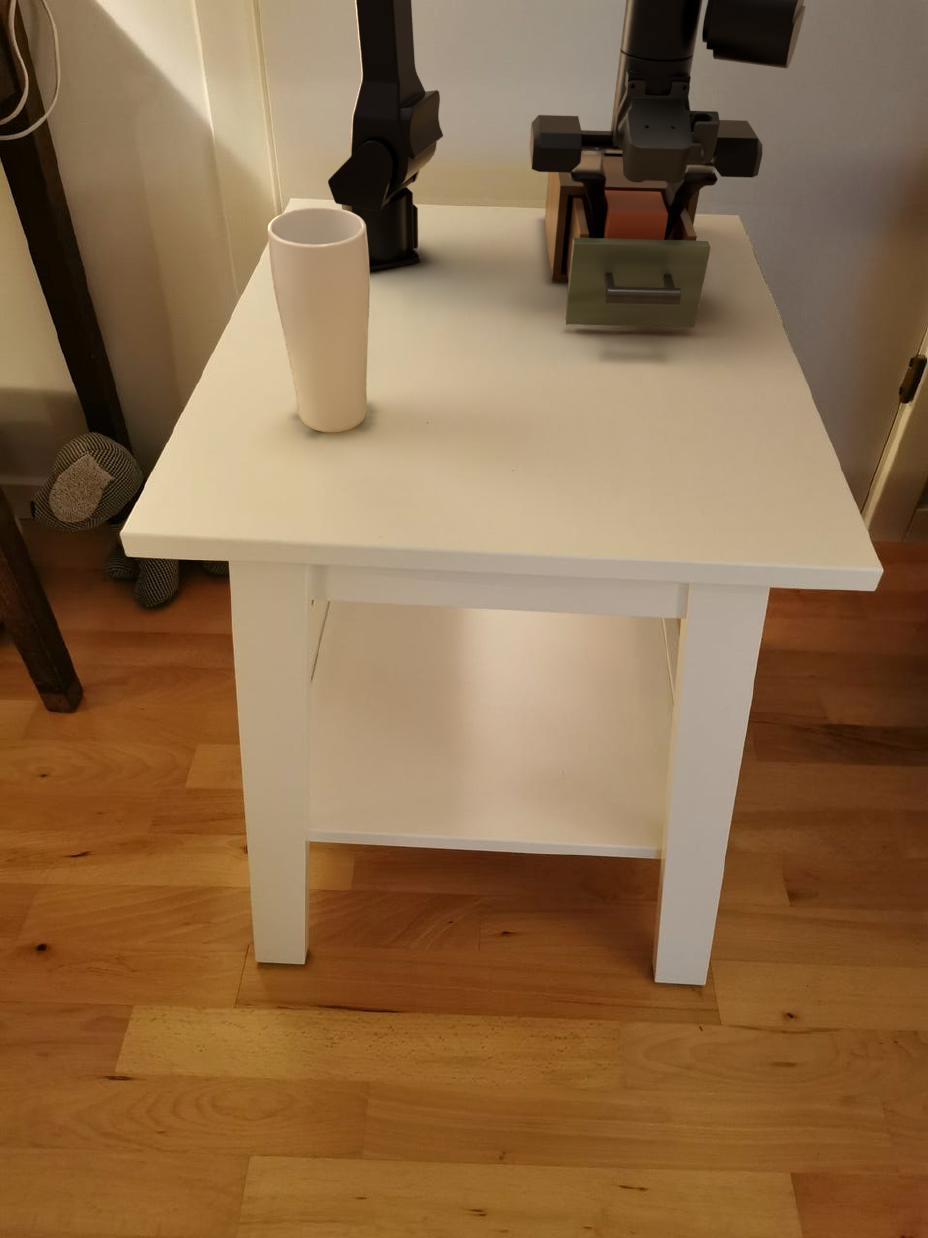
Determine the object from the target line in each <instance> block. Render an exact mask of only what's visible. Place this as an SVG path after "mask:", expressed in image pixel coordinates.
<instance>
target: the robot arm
mask: <svg viewBox="0 0 928 1238" xmlns="http://www.w3.org/2000/svg"><path fill="white" fill-rule="evenodd" d="M354 3H355V13H356V14H355V15H356V23H357V24H356V26H357V37H358V45H359V59H360V68H361V69H360V70H361V79H360V84H359V88H358V92H357V96H356V100H355V105H354V108H353V111H352V115H351V116H352V117H351V130H350V131H351V132H350V133H351V134H350V136H351V137H350V157H348V159H347V160H345V162H344V163H343V164H342V165H341V166H340V167H339V168H338V169H337V170H336V171H335V172H334V174H332V175H331V176H330V177H329V178H328V180H327V183H328V187H329V190H330V192H331V195H332V198H333V201H334V203H335V204H336V205H341V209H342V210H346V211H349V212H352V213H354V214H356V215H358V216H359V217H361V218H362V219H363V220H364V222H365V224H366V231H367V241H368V251H369V268H370V272H371V271H376V270H383V269H387V268H394V267H400V266H405V265H410V264H411V265H412V264H416V263H420V262H421V255H420V254H419V253H418V252H417V249H418V247H419V208H418V207H417V206H416V204H414V193H413V191H411V190H410V188H408V187H409V186H410V185H411V184H413V183H415V182H416V181H417V180H418V177H419V174H420V171H421V169H423V168H424V167H425V166H427V164H428V163H429V162H430V161H431V160H432V159H433V157H434V156H435V153H436V150H437V143H438V141H439V140H441V139H442V138H443V137H444V134H443V131H442V128H441V125H440V118H439V117H440V116H439V112H440V103H441V96H440V95H441V94H440V91H439V90H438V89H435V90H428V91H426V90H425V88H424V85H423V83H422V81H421V80H420V77H419V75H418V72H417V68H416V59H415V57H416V56H415V44H414V43H415V42H414V25H413V24H414V23H413V7H412V0H354ZM706 3H707V4H706V8H705V13H704V17H703V24H702V31H701V32H702V33H701V39H702V43H704V44H706V46H705V48H706V50H710V51H712V57H713V59H714V60H718V61H727V62H734V63H740V64H741V63H742V64H749V65H757V66H764V67H773V68H780V69H789V67H790V65H791V62H792V59H793V56H794V53H795V50H796V47H797V43H798V39H799V36H800V31H801V28H802V24H803V19H804V15H805V11H806V5H804V4H805V0H707V2H706ZM702 7H703V0H626V1H625V8H624V16H623V25H622V34H621V42H620V49H619V50H620V51H619V58H618V66H617V75H616V83H615V92H614V100H613V108H612V116H611V123H610V124H611V125H610V130H587V129H586V130H585V129H584V130H582V127H581V122H580V118H579V115H554V114H552V115H551V114H538V115H537V116H536V117H535V118H534V119H533V120H532V122H531V124H530V131H529V132H530V135H529V156H530V164H531V170H532V171H536V172H538V173H548V172H563V173H569V176H570V179H571V180H572V181H574V182H581V183H583V186H584V188H585V191H586V194H587V197H588V200H589V203H590V208H591V213H592V219H593V224H594V230H595V235H596V238H604V231H605V185H606V175H605V171H604V167H603V163H602V162H604V156H606V157H623V174H624V176H625V178H626V179H628V180H629V181H632V182H638V183H641V182H643V181H666V182H667V187H666V192H665V196H664V204H665V207H666V209H667V212H668V219H667V225H666V231H665V237H664V240H667V239H668V237H669V235H670V233H671V232H672V230H673V228H674V226H675V224H676V222H677V221H678V219H679V217H680V215H681V213H682V211H683V210H684V208H685V207H686V205H687V204H688V202H689V201H690V199H691V198H692V197H693V195H694V194H695V193H696V192H698V191H699V190H700V191H701V189H703V188H705V187H708V186H710V187H712V186H714V185H716V184H717V182H718V181H719V180H718V176H717V174H716V172H715V170H716V171H717V173H718V174H719V176H720V177H721V178H755V177H758V176H759V171H760V167H761V163H762V158H763V143H762V142H761V140H760V138H759V137H758V135H757V133H756V132H755V130H754V128H753V127H752V125H751V124H750V122H749V121H748V120H740V119H736V120H735V119H731V120H730V119H720V116H719V111H715V110H714V111H713V110H712V111H711V110H691V106H690V99H689V95H690V90H691V78H692V76H691V72H692V67H693V61H694V53H695V49H696V43H697V38H698V32H699V24H700V19H701V14H702V13H701V12H702Z"/></svg>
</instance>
